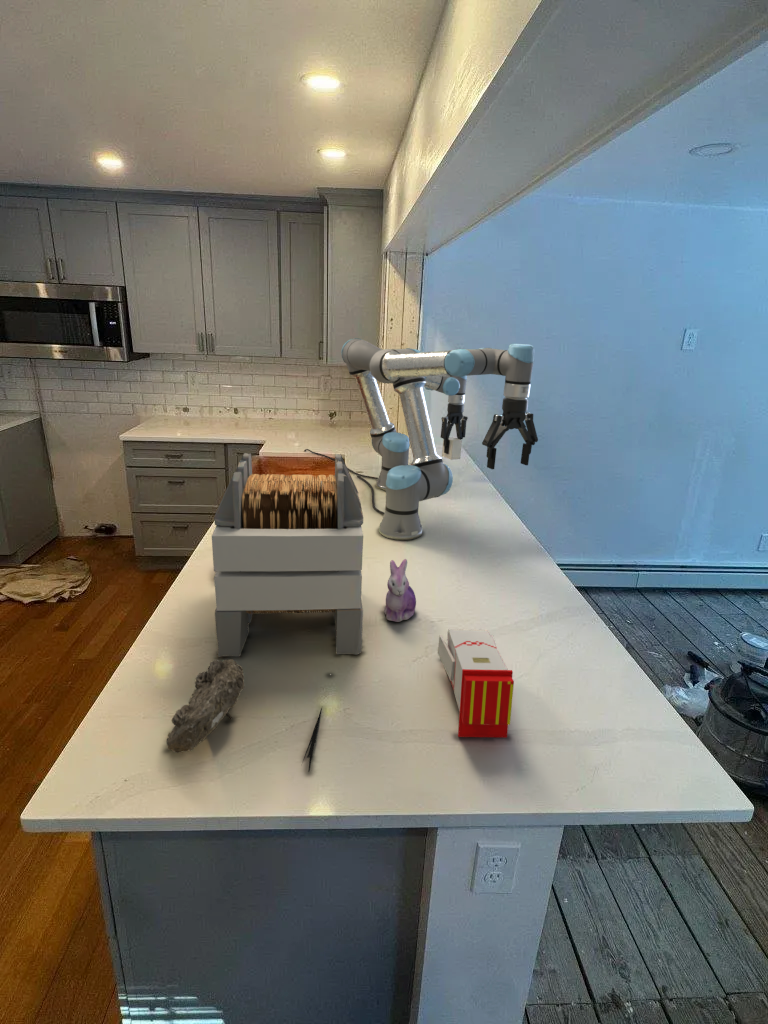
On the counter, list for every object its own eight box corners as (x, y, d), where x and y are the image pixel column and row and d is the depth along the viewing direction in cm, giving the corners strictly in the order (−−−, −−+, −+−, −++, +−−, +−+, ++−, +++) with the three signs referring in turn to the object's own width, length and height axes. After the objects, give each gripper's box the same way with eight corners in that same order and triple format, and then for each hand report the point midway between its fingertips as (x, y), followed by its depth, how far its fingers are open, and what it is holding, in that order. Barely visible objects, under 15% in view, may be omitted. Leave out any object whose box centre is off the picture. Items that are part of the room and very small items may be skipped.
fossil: (192, 660, 117) (244, 628, 112) (224, 691, 120) (276, 661, 115) (142, 746, 98) (202, 712, 93) (182, 779, 101) (242, 748, 96)
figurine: (392, 627, 141) (395, 572, 136) (374, 608, 149) (376, 556, 144) (425, 619, 145) (429, 566, 140) (405, 601, 154) (408, 550, 149)
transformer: (236, 587, 157) (228, 443, 143) (353, 586, 161) (357, 445, 147) (215, 659, 125) (203, 483, 111) (362, 655, 129) (368, 484, 115)
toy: (488, 613, 130) (523, 677, 101) (484, 667, 133) (517, 744, 104) (435, 612, 130) (455, 676, 101) (432, 666, 133) (451, 743, 103)
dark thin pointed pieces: (331, 679, 122) (336, 673, 122) (307, 777, 96) (313, 769, 95) (324, 675, 122) (329, 669, 121) (298, 772, 95) (304, 764, 95)
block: (451, 459, 265) (453, 440, 262) (441, 455, 271) (443, 437, 268) (460, 459, 268) (462, 440, 264) (450, 455, 274) (452, 436, 271)
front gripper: (491, 401, 161) (483, 473, 168) (555, 398, 173) (545, 465, 180) (474, 397, 167) (468, 466, 175) (538, 394, 179) (529, 459, 186)
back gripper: (444, 405, 253) (440, 456, 261) (476, 404, 262) (471, 453, 270) (435, 402, 259) (430, 452, 267) (466, 401, 268) (462, 449, 276)
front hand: (507, 466), depth 177 cm, fingers open, 13 cm apart
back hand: (451, 452), depth 269 cm, fingers closed on block, 5 cm apart
